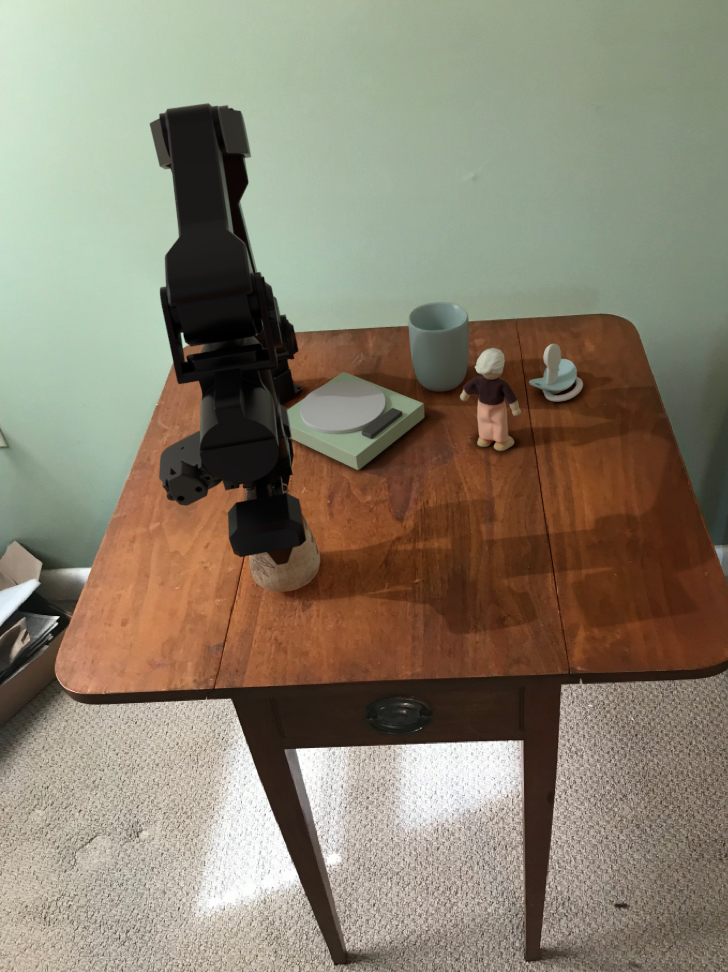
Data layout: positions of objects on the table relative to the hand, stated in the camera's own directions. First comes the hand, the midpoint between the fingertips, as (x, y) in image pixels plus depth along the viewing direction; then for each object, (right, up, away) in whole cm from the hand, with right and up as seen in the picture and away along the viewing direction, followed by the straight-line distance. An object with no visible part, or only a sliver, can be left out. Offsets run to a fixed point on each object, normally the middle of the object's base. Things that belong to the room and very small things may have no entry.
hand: (279, 538), depth 76 cm
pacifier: (+33, +20, +25) cm, 46 cm away
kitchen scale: (+6, +15, +23) cm, 28 cm away
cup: (+17, +21, +29) cm, 40 cm away
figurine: (0, -3, +3) cm, 5 cm away
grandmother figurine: (+23, +12, +18) cm, 32 cm away
